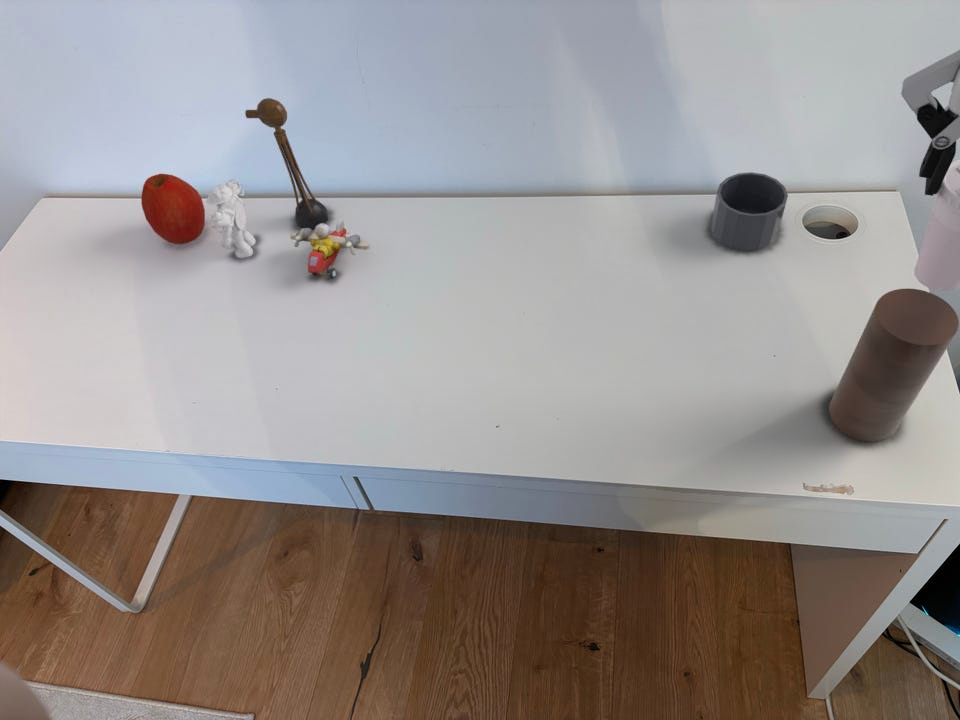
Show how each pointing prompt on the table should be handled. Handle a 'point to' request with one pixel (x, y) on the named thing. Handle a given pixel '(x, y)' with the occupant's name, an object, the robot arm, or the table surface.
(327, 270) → the toy airplane
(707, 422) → the table surface
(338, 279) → the table surface
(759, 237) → the grey cup holder
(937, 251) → the smoothie
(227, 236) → the hat wearing toy figure
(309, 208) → the wooden tabletop sculpture
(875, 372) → the stand
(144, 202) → the red oval fruit
